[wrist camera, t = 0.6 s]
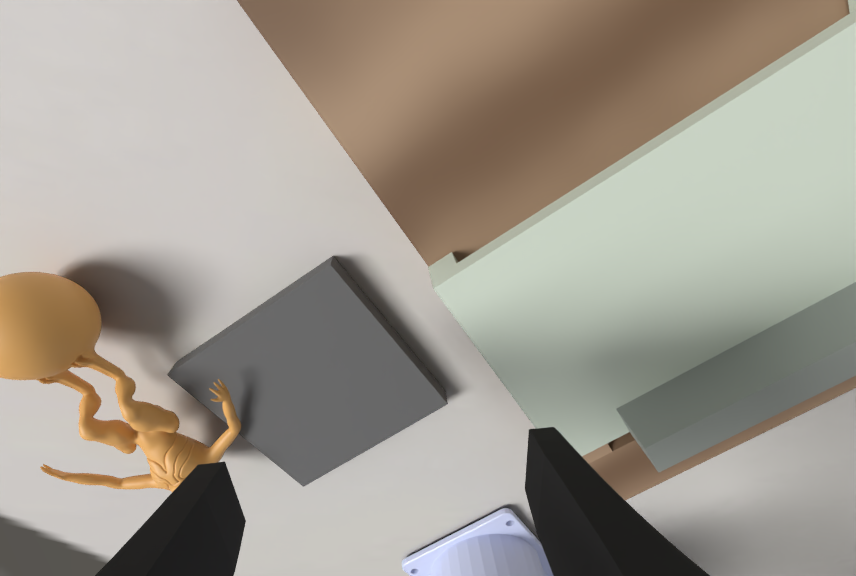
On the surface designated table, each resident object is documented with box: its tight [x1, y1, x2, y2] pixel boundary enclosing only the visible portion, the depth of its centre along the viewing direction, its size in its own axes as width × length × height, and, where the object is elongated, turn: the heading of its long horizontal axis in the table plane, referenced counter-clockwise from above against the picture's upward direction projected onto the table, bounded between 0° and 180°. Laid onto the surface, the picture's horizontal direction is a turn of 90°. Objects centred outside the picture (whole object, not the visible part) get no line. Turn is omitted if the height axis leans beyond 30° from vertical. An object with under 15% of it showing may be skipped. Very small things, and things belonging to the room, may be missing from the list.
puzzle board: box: [237, 0, 856, 500], centre depth 16 cm, size 28×16×3 cm, turn 33°
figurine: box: [0, 272, 241, 492], centre depth 17 cm, size 8×6×12 cm
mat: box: [167, 256, 448, 487], centre depth 20 cm, size 9×9×1 cm
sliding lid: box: [428, 0, 856, 472], centre depth 14 cm, size 10×16×4 cm, turn 123°
